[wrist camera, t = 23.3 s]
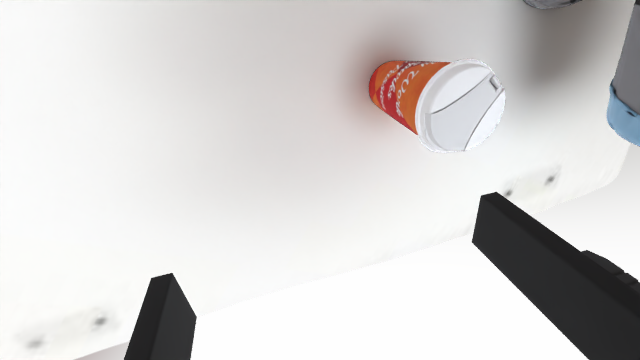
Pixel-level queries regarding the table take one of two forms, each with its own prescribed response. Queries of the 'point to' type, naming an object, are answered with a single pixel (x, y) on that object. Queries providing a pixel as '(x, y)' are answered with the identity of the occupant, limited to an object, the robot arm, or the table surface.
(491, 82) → the coffee cup
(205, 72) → the table surface
